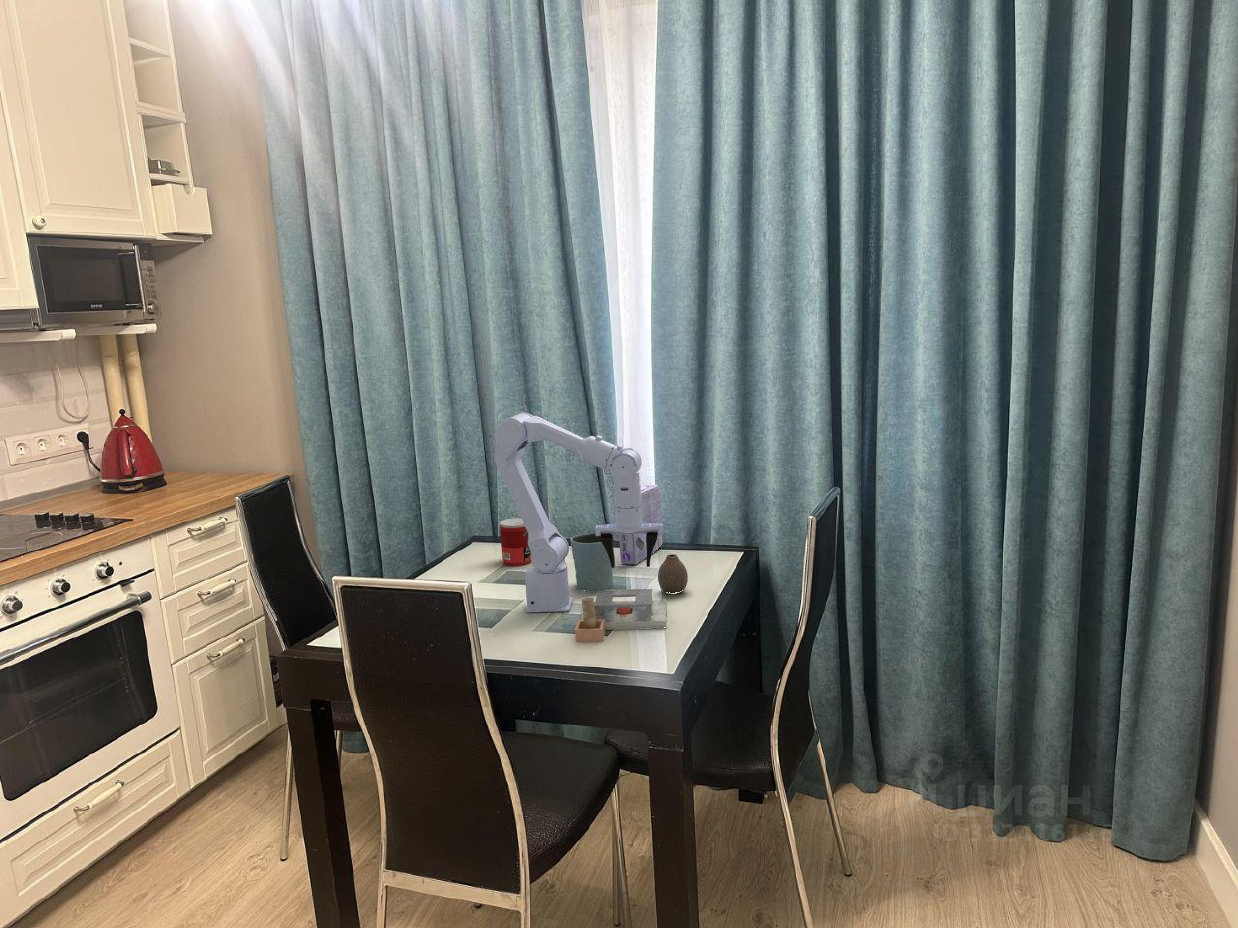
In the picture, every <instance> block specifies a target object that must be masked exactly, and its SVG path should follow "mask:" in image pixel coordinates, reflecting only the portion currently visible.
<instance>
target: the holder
mask: <svg viewBox="0 0 1238 928" xmlns="http://www.w3.org/2000/svg"><path fill="white" fill-rule="evenodd" d="M595 623H596V629H584V620H581V619H577V622H576V625H575V629H574V637H575V643H580V642H581V643H584V642H587V643H588V642H604V641H605V640H604V639H605V634H606V630H605V620H595Z"/></svg>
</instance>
